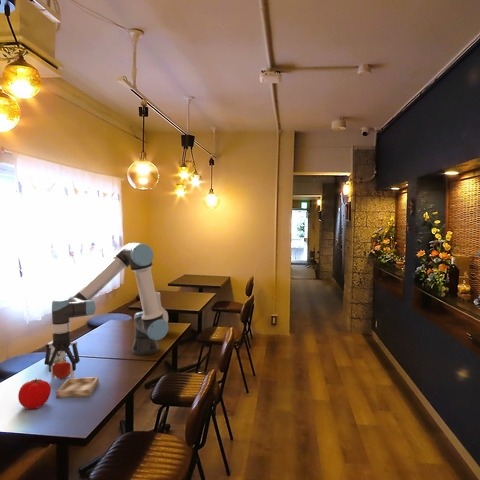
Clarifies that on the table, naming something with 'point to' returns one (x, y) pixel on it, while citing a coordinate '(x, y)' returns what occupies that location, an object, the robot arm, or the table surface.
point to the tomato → (34, 393)
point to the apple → (62, 369)
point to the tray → (77, 387)
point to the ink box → (59, 356)
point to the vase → (165, 314)
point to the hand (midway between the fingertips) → (62, 377)
